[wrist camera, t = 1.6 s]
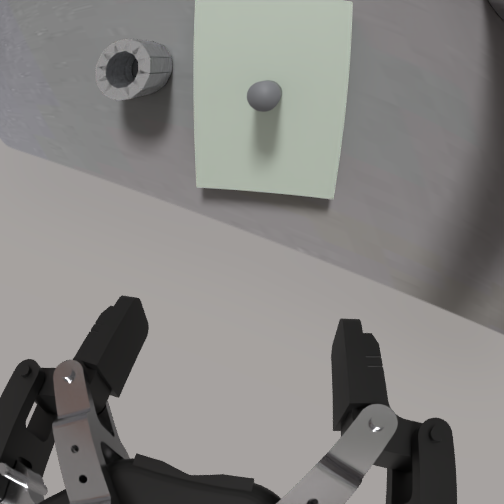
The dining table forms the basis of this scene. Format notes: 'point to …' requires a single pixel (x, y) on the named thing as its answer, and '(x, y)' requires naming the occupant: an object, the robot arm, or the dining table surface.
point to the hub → (119, 69)
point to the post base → (299, 114)
